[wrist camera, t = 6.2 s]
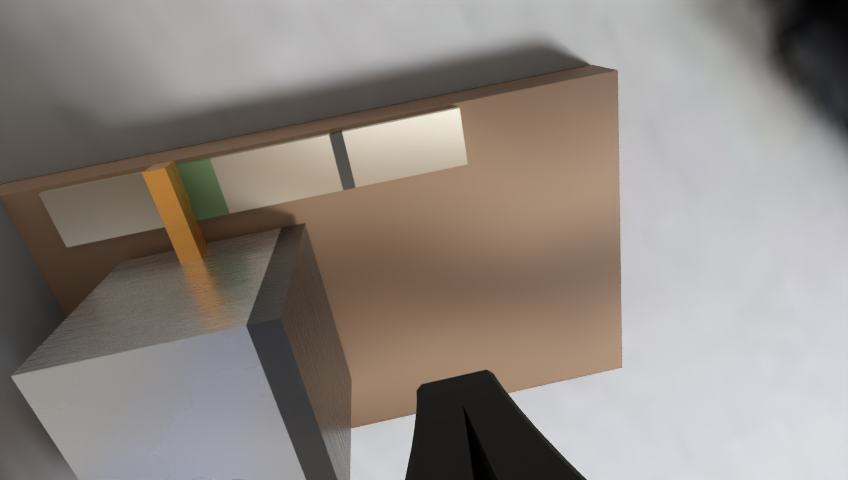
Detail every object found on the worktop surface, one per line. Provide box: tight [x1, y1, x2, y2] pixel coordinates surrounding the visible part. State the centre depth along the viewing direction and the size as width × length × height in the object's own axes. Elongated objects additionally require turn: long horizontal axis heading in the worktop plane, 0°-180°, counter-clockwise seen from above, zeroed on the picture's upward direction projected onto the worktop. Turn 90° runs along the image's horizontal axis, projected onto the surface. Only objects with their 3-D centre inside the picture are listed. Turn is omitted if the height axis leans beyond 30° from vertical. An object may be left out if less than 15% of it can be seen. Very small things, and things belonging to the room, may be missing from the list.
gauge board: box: [0, 65, 622, 480], centre depth 13 cm, size 9×18×6 cm, turn 100°
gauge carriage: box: [11, 161, 352, 480], centre depth 11 cm, size 7×5×4 cm, turn 10°
